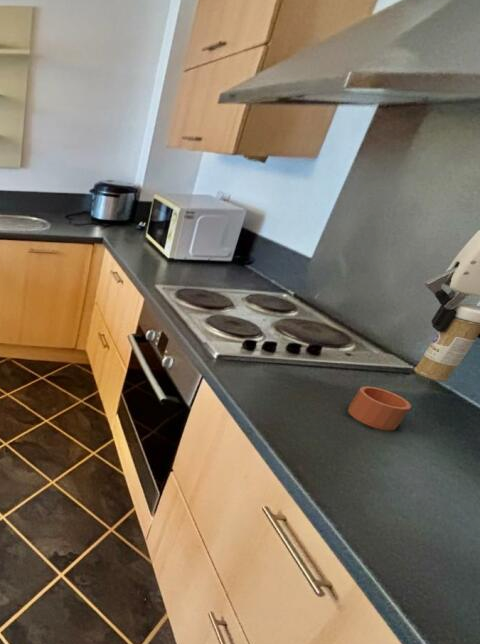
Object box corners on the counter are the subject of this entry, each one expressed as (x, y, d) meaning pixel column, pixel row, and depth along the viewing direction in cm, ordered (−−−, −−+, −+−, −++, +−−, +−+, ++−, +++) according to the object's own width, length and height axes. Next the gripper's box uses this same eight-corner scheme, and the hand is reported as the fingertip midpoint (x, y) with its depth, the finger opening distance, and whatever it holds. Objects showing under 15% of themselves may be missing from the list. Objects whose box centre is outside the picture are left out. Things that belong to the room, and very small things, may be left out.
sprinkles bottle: (407, 366, 77) (450, 300, 71) (439, 372, 76) (484, 305, 70) (420, 378, 74) (466, 309, 67) (453, 385, 72) (503, 315, 66)
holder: (391, 416, 90) (405, 395, 87) (400, 435, 83) (416, 414, 81) (345, 402, 93) (357, 382, 91) (350, 420, 87) (364, 399, 85)
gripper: (598, 231, 62) (518, 339, 70) (444, 214, 69) (388, 313, 78) (635, 240, 56) (542, 357, 64) (462, 220, 63) (399, 327, 72)
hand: (458, 332), depth 71 cm, fingers closed on sprinkles bottle, 4 cm apart
